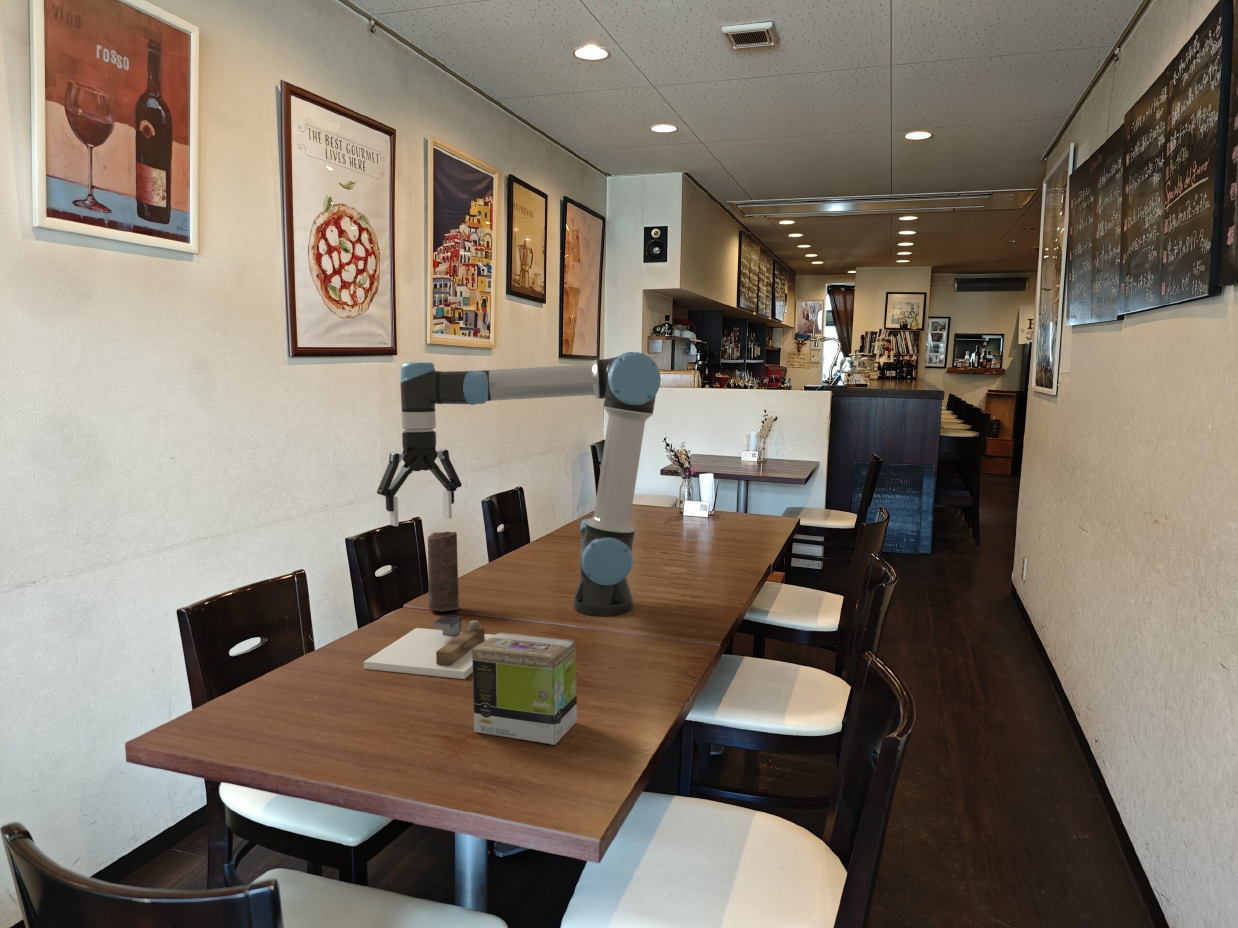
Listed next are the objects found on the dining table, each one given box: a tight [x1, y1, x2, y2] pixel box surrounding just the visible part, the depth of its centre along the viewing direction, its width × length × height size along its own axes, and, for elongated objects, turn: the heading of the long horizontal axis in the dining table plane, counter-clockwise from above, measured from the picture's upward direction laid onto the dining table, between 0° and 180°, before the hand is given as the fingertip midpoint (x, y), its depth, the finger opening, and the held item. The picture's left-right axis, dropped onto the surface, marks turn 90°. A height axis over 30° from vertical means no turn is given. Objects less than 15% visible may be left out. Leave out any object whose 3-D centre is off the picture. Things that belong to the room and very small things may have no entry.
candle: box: [427, 531, 460, 613], centre depth 199 cm, size 8×7×20 cm
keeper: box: [432, 614, 462, 636], centre depth 175 cm, size 4×6×4 cm
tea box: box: [472, 631, 578, 746], centre depth 134 cm, size 15×10×15 cm
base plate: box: [363, 627, 495, 680], centre depth 169 cm, size 22×22×2 cm
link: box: [436, 620, 486, 665], centre depth 167 cm, size 17×4×4 cm, turn 166°
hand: (421, 521), depth 185 cm, fingers open, 13 cm apart
